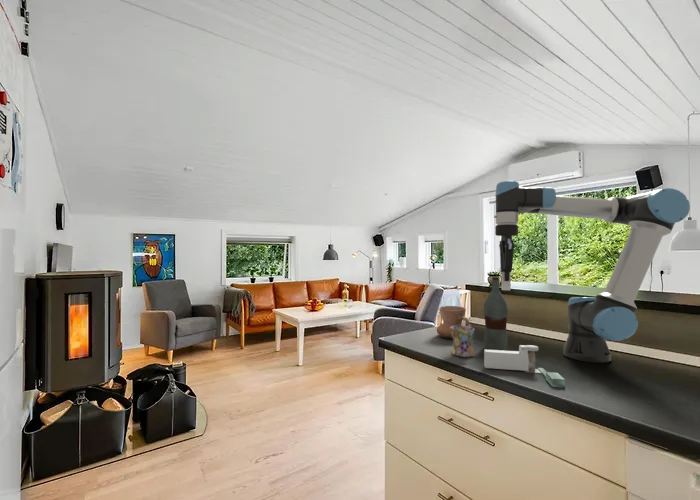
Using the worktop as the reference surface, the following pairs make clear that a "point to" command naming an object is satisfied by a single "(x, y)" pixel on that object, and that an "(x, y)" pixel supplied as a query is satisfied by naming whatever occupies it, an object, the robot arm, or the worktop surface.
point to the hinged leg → (508, 358)
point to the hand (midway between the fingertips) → (505, 290)
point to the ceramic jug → (451, 319)
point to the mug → (462, 341)
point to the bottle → (495, 319)
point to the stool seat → (551, 377)
